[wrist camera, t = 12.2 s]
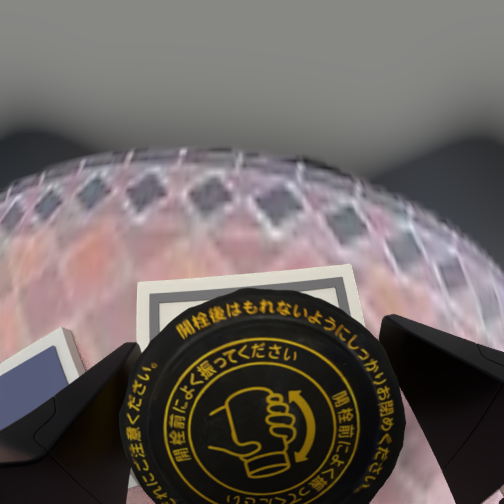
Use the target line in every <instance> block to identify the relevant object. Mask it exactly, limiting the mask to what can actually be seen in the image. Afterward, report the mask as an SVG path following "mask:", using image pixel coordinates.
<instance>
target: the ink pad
mask: <svg viewBox="0 0 504 504" xmlns="http://www.w3.org/2000/svg"><path fill="white" fill-rule="evenodd" d="M85 372H86V371H85V369H84V366H83V364H82V361H81V359H80V356H79V354H78V351H77V348H76V345H75V343H74V340H73V337H72V334H71V331H70V330H68V329H66V328H63V327H60V328H58V329H56V330H55V331H53V332H51V333H50V334H48V335H46V336H45V337H43V338H41V339H39V340H38V341H36V342H34V343H33V344H31V345H29V346H28V347H26V348H25V349H23V350H21V351H20V352H18V353H16V354H15V355H13V356H11V357H10V358H8V359H7V360H5V361H3V362H2V363H0V430H2V429H3V428H5V427H7V426H8V425H10V424H12V423H13V422H15V421H17V420H18V419H20V418H22V417H23V416H25V415H26V414H28V413H30V412H31V411H33V410H34V409H36V408H37V407H39V406H40V405H41V404H43V403H44V402H46V401H47V400H48V399H50V398H51V397H52V396H54V395H55V394H56V393H58V392H59V391H61V390H62V389H63V388H65V387H66V386H67V385H69V384H70V383H71V382H73V381H74V380H75V379H77V378H78V377H79V376H81V375H82V374H84V373H85ZM138 485H139V482H138V481H137V479H136V477H135V475H134V473H133V471H132V468H131V471H130V478H129V484H128V488H132V487H135V486H138Z"/></svg>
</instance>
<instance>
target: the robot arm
mask: <svg viewBox="0 0 504 504" xmlns="http://www.w3.org/2000/svg"><path fill="white" fill-rule="evenodd" d="M379 342H380V343H381V344H382V346H383V347H384V349H385V351H386V354H387V356H388V358H389V361H390V364H391V366H392V368H393V371H394V373H395V375H396V376H397V380H398V382H399V387H400V388H401V390H402V392H403V394H404V396H405V398H406V400H407V401H408V403H409V405H410V407H411V409H412V411H413V413H414V415H415V417H416V419H417V421H418V423H419V425H420V427H421V429H422V430H423V432H424V434H425V437H426V439H427V441H428V443H429V445H430V447H431V449H432V451H433V453H434V455H435V457H436V459H437V461H438V464H439V466H440V468H441V470H442V473H443V475H444V477H445V479H446V482H447V484H448V486H449V488H450V491H451V493H452V495H453V498H454V500H455V503H456V504H482V503H483V502H485V501H486V500H487V499H489V498H490V497H491V496H492V495H494V494H495V493H496V492H497V491H499V490H500V492H501V493H502V495H503V498H502V499H501V500H500V501H499V504H504V352H502V351H499V350H495V349H492V348H489V347H486V346H483V345H480V344H476V343H474V342H472V341H469V340H466V339H463V338H460V337H457V336H455V335H452V334H449V333H446V332H443V331H441V330H438V329H435V328H432V327H429V326H427V325H424V324H421V323H418V322H415V321H413V320H410V319H407V318H404V317H401V316H399V315H396V314H391V315H387V316H384V317H383V319H382V323H381V328H380V334H379ZM141 353H142V352H141V349H140V346H139V344H138V343H137V342H126V343H124V344H123V345H121V346H120V347H119V348H117V349H116V350H115V351H113V352H112V353H111V354H109V355H108V356H107V357H105V358H104V359H103V360H101V361H100V362H98V363H97V364H96V365H94V366H93V367H92V368H90V369H89V370H88V371H86V372H85V373H84V374H82V375H81V376H79V377H78V378H77V379H75V380H74V381H73V382H71V383H70V384H69V385H67V386H66V387H65V388H63V389H62V390H61V391H59V392H58V393H56V394H55V395H54V396H52V397H51V398H50V399H48V400H47V401H46V402H44V403H43V404H41V405H40V406H39V407H37V408H36V409H34V410H33V411H31V412H30V413H28V414H26V415H25V416H23V417H22V418H20V419H18V420H17V421H15V422H13V423H12V424H10V425H8V426H7V427H5V428H3V429H2V430H0V504H126V499H127V492H128V484H129V478H130V471H131V466H130V463H129V461H128V459H127V457H126V454H125V452H124V448H123V444H122V440H121V435H120V429H119V412H120V409H121V407H122V404H123V402H124V399H125V395H126V391H127V387H128V380H129V374H130V370H131V368H132V366H133V365H134V363H135V362H136V360H137V359H138V357H139V356H140V354H141Z"/></svg>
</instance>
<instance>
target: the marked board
mask: <svg viewBox="0 0 504 504" xmlns="http://www.w3.org/2000/svg"><path fill="white" fill-rule="evenodd" d="M241 288H258V289H273V290H294V291H298V292H301V293H305V294H308V295H311V296H313V297H316V298H321V299H323V300H325V301H327V302H329V303H331V304H333V305H335V306H337V307H338V308H340V309H342V310H343V311H345V312H346V313H347V314H348V315H349V316H351V317H352V318H354V319H355V320H357V321H358V322H360V323H361V324H362V325H363V326H364V327H365V323H364V319H363V314H362V309H361V304H360V300H359V296H358V291H357V287H356V283H355V279H354V274H353V270H352V266H351V264H344V265H335V266H325V267H315V268H305V269H295V270H284V271H273V272H262V273H251V274H239V275H228V276H215V277H203V278H190V279H176V280H162V281H148V282H138V287H137V343H138V344H139V346H140V349H141V352H143V351H144V350H145V349H146V347H147V346H148V344H149V342H150V341H151V340H152V339H153V338H154V337H155V336H157V335H158V334H159V333H160V332H161V331H162V330H163V329H164V327H165V326H166V325H167V324H168V323H169V322H171V321H172V320H173V319H174V318H175V317H177V316H178V315H179V314H180V313H182V312H183V311H185V310H186V309H188V308H190V307H194V306H196V305H199V304H202V303H204V302H207V301H209V300H212V299H214V298H216V297H218V296H224V295H226V294H229V293H232V292H235V291H236V290H238V289H241Z"/></svg>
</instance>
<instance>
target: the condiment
mask: <svg viewBox="0 0 504 504" xmlns="http://www.w3.org/2000/svg"><path fill="white" fill-rule="evenodd" d="M405 425H406V420H405V413H404V406H403V402H402V398H401V393H400V388H399V382H398V380H397V376H396V375H395V373H394V371H393V368H392V366H391V364H390V361H389V358H388V356H387V354H386V351H385V349H384V347H383V346H382V344H381V343H380V342H379V340H378V339H376V338H375V337H374V336H373V335H372V334H371V333H370V331H368V330H367V329H366V328H365V327H364V326H363V325H362V324H361V323H360V322H358V321H357V320H355V319H354V318H352V317H351V316H349V315H348V314H347V313H346V312H345V311H343V310H342V309H340V308H338V307H337V306H335V305H333V304H331V303H329V302H327V301H325V300H323V299H321V298H316V297H313V296H311V295H308V294H305V293H301V292H298V291H294V290H273V289H258V288H241V289H238V290H236V291H235V292H232V293H229V294H226V295H224V296H218V297H216V298H214V299H212V300H209V301H207V302H204V303H202V304H199V305H196V306H194V307H190V308H188V309H186V310H185V311H183V312H182V313H180V314H179V315H178V316H177V317H175V318H174V319H173V320H172V321H171V322H169V323H168V324H167V325H166V326H165V327H164V329H163V330H162V331H161V332H160V333H159V334H158V335H157V336H155V337H154V338H153V339H152V340H151V341H150V342H149V344H148V346H147V347H146V349H145V350H144V351H143V352H142V353H141V354H140V356H139V357H138V359H137V360H136V362H135V363H134V365H133V366H132V368H131V370H130V374H129V380H128V387H127V391H126V395H125V399H124V402H123V404H122V407H121V409H120V412H119V429H120V435H121V440H122V444H123V448H124V452H125V454H126V457H127V459H128V461H129V463H130V466H131V468H132V471H133V473H134V475H135V477H136V479H137V481H138V482H139V484H140V485H141V487H142V488H143V490H144V491H145V492H146V494H147V495H148V496H149V497H150V498H151V499H152V500H153V501H154V502H155V503H156V504H369V503H370V502H371V500H372V499H373V498H374V496H375V495H376V493H377V492H378V491H379V489H380V488H381V487H382V486H383V485H384V483H385V482H386V480H387V479H388V478H389V476H390V475H391V473H392V471H393V469H394V467H395V465H396V462H397V459H398V456H399V454H400V451H401V449H402V447H403V440H404V431H405Z"/></svg>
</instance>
